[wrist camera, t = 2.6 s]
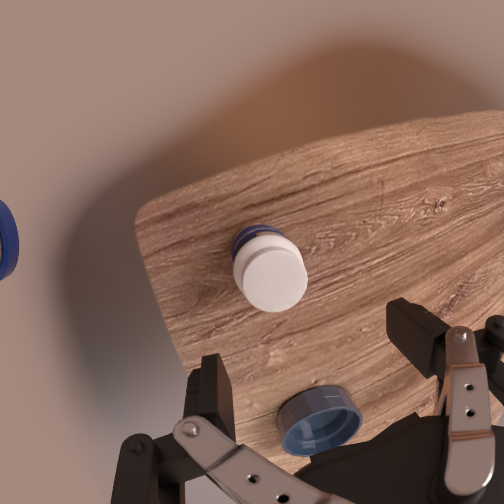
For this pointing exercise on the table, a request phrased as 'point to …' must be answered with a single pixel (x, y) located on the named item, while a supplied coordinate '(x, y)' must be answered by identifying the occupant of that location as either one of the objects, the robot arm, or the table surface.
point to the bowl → (318, 421)
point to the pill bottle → (268, 268)
